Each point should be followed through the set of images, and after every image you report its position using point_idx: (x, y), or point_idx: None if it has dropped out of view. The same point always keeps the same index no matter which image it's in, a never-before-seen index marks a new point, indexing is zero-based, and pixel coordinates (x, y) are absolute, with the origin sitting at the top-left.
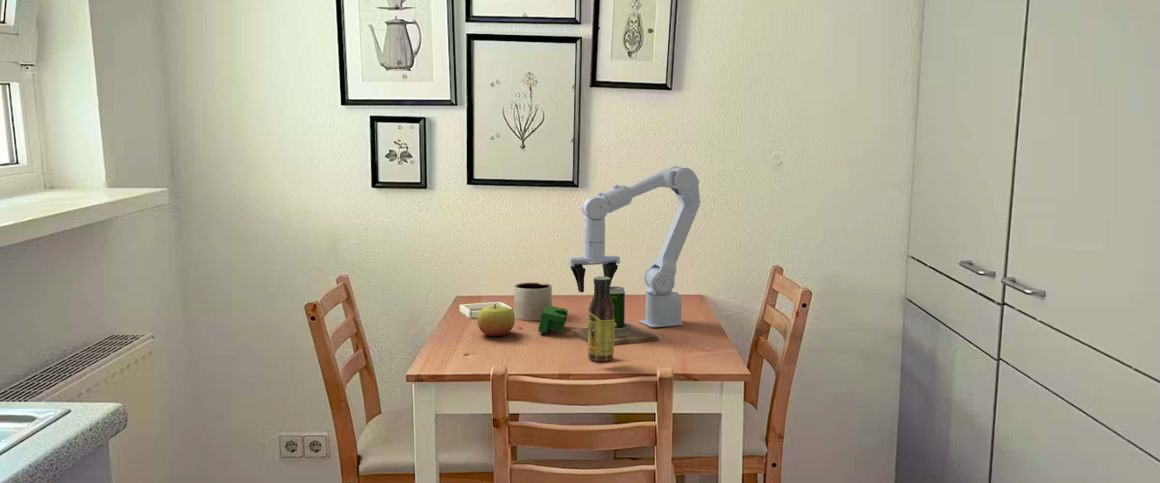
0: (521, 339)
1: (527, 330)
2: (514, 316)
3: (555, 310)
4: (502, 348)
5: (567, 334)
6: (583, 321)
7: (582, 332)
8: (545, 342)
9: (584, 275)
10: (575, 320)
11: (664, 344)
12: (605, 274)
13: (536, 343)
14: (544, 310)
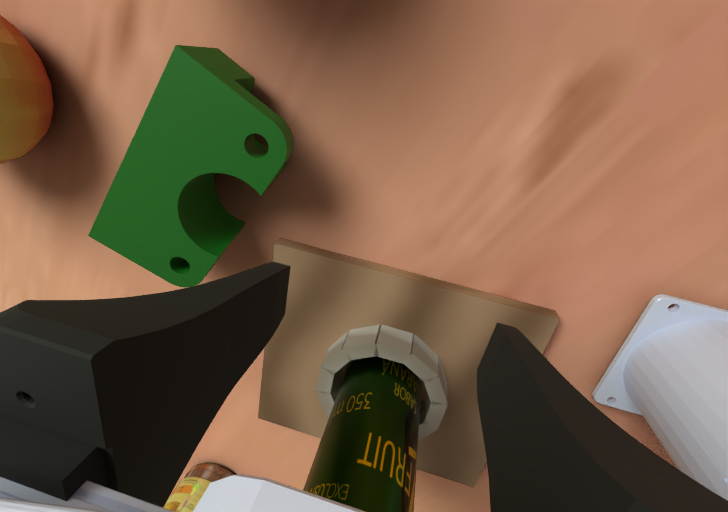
0: (90, 212)
1: (142, 91)
2: (3, 113)
3: (190, 178)
4: (21, 271)
5: (259, 247)
6: (470, 63)
7: (288, 307)
8: (151, 290)
9: (197, 444)
10: (450, 9)
11: (449, 504)
12: (527, 448)
13: (122, 283)
14: (114, 192)
